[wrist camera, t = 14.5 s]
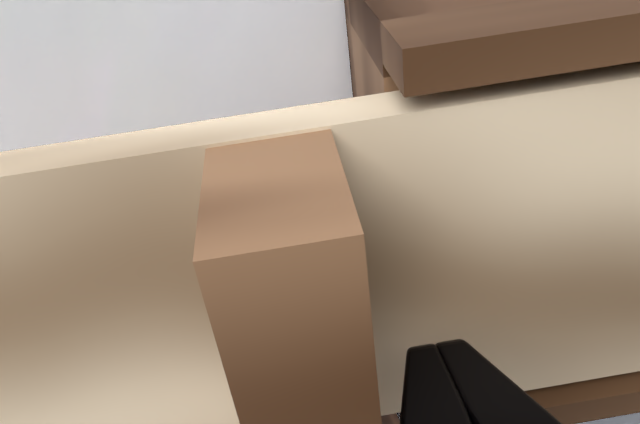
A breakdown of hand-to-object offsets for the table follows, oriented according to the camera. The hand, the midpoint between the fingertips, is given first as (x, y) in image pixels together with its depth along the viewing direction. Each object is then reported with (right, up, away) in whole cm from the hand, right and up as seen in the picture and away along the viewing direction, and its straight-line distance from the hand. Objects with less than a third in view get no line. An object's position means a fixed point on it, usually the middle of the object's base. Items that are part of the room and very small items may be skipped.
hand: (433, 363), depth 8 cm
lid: (-2, +1, +1) cm, 3 cm away
